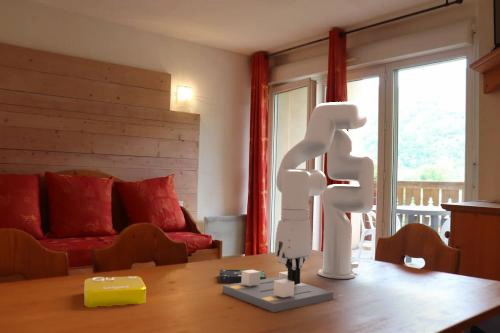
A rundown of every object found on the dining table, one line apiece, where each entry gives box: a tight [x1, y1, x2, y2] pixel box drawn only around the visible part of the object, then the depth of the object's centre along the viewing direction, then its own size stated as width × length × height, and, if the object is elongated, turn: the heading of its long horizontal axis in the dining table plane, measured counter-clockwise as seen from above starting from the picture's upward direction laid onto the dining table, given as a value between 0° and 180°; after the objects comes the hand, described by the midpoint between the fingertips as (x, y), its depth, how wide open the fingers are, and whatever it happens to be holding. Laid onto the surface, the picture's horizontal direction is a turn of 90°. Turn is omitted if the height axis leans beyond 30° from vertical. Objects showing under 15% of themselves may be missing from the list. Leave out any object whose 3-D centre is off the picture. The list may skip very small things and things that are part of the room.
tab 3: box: [274, 279, 294, 297], centre depth 117 cm, size 4×4×4 cm
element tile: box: [83, 275, 147, 308], centre depth 118 cm, size 15×15×5 cm
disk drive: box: [218, 269, 267, 284], centre depth 144 cm, size 10×3×15 cm
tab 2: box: [278, 270, 297, 286], centre depth 127 cm, size 4×4×4 cm
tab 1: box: [241, 269, 260, 286], centre depth 128 cm, size 4×4×4 cm
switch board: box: [222, 276, 334, 313], centre depth 125 cm, size 22×22×2 cm
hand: (293, 283), depth 120 cm, fingers closed
